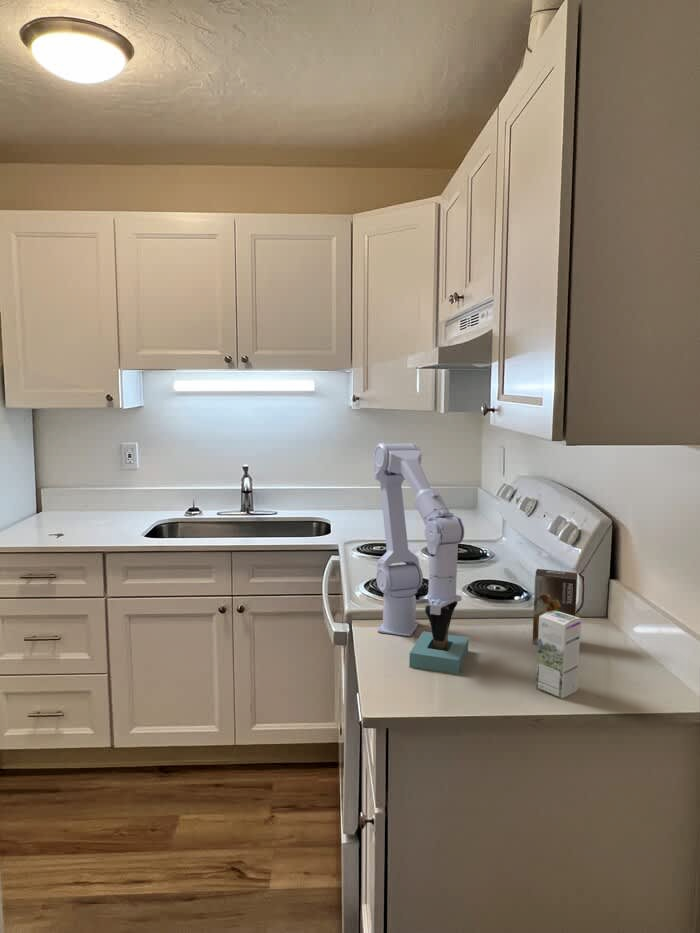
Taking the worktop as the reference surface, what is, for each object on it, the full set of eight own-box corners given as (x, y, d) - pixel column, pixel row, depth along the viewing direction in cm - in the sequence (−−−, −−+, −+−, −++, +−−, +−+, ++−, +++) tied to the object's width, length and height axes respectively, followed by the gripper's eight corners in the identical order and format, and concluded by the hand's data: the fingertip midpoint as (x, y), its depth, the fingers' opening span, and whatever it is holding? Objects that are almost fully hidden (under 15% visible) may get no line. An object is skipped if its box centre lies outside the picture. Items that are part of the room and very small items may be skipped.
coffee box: (575, 640, 146) (579, 572, 144) (574, 651, 140) (578, 579, 138) (533, 634, 149) (537, 567, 148) (530, 644, 143) (534, 574, 142)
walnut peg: (434, 649, 136) (435, 604, 135) (448, 651, 135) (450, 605, 134) (431, 654, 133) (433, 608, 132) (445, 656, 132) (447, 610, 131)
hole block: (422, 644, 142) (423, 631, 142) (467, 650, 139) (468, 637, 139) (409, 667, 130) (409, 652, 130) (458, 674, 127) (459, 660, 126)
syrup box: (578, 691, 121) (582, 616, 119) (561, 700, 117) (565, 623, 115) (551, 680, 125) (555, 608, 123) (534, 689, 121) (538, 615, 120)
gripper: (456, 585, 124) (453, 653, 126) (467, 567, 138) (464, 628, 140) (420, 581, 127) (418, 647, 128) (434, 564, 140) (432, 624, 142)
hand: (440, 637), depth 134 cm, fingers closed on walnut peg, 3 cm apart
